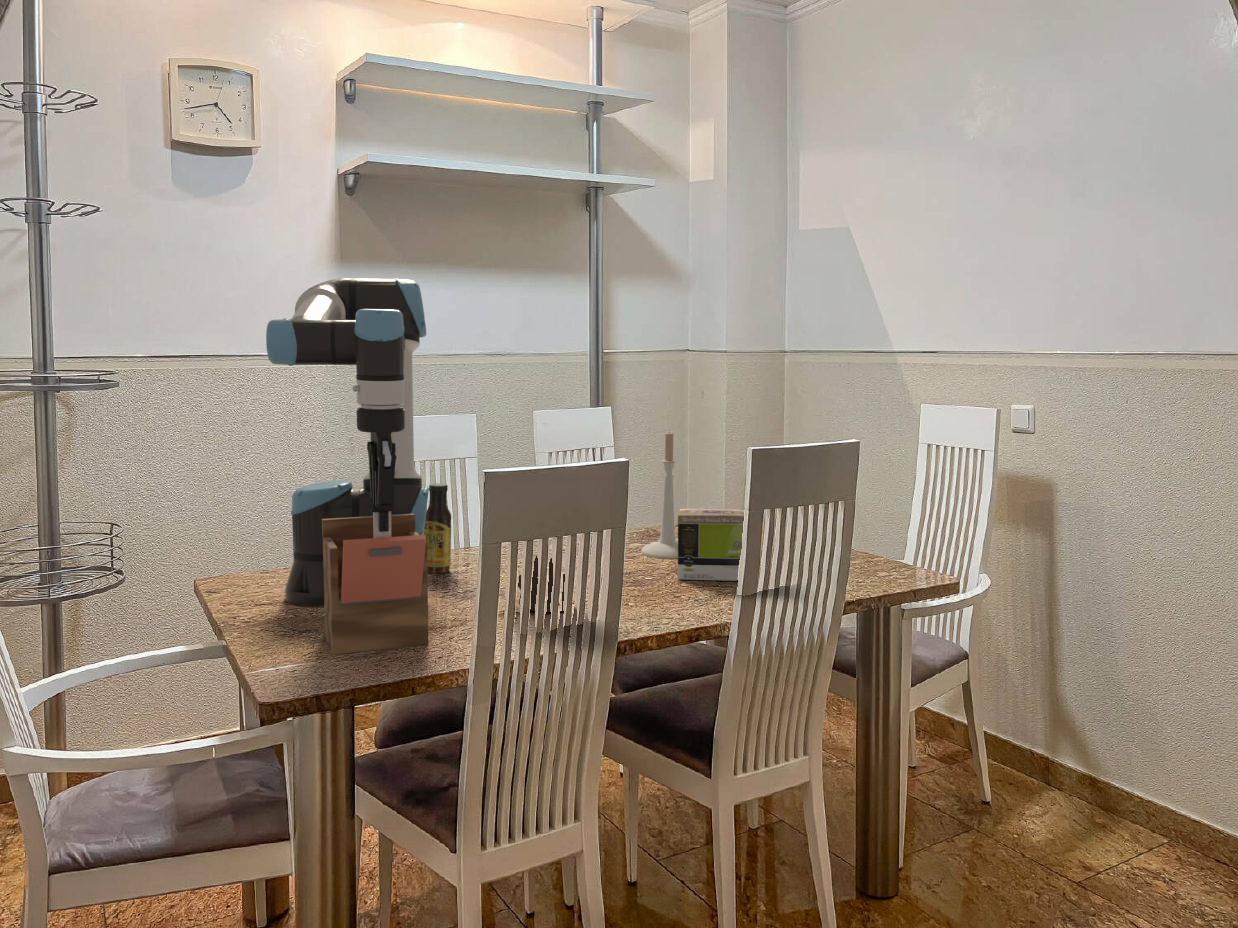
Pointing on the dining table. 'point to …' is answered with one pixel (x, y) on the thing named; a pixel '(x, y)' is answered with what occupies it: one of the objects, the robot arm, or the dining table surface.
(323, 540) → the wooden box
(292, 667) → the dining table surface
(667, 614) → the dining table surface
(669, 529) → the candlestick
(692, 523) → the tea box
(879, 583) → the dining table surface
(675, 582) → the dining table surface
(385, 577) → the panel
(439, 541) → the sauce bottle
